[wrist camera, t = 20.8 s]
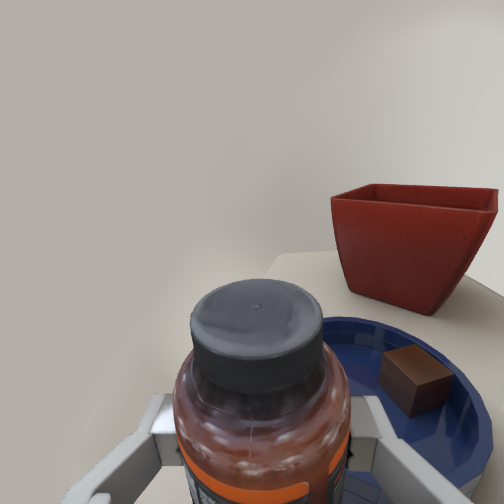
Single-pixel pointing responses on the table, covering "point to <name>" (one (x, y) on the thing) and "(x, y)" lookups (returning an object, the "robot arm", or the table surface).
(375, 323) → the bowl
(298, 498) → the supplement bottle
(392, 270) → the flower pot
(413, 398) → the block
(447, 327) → the table surface
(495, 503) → the table surface
